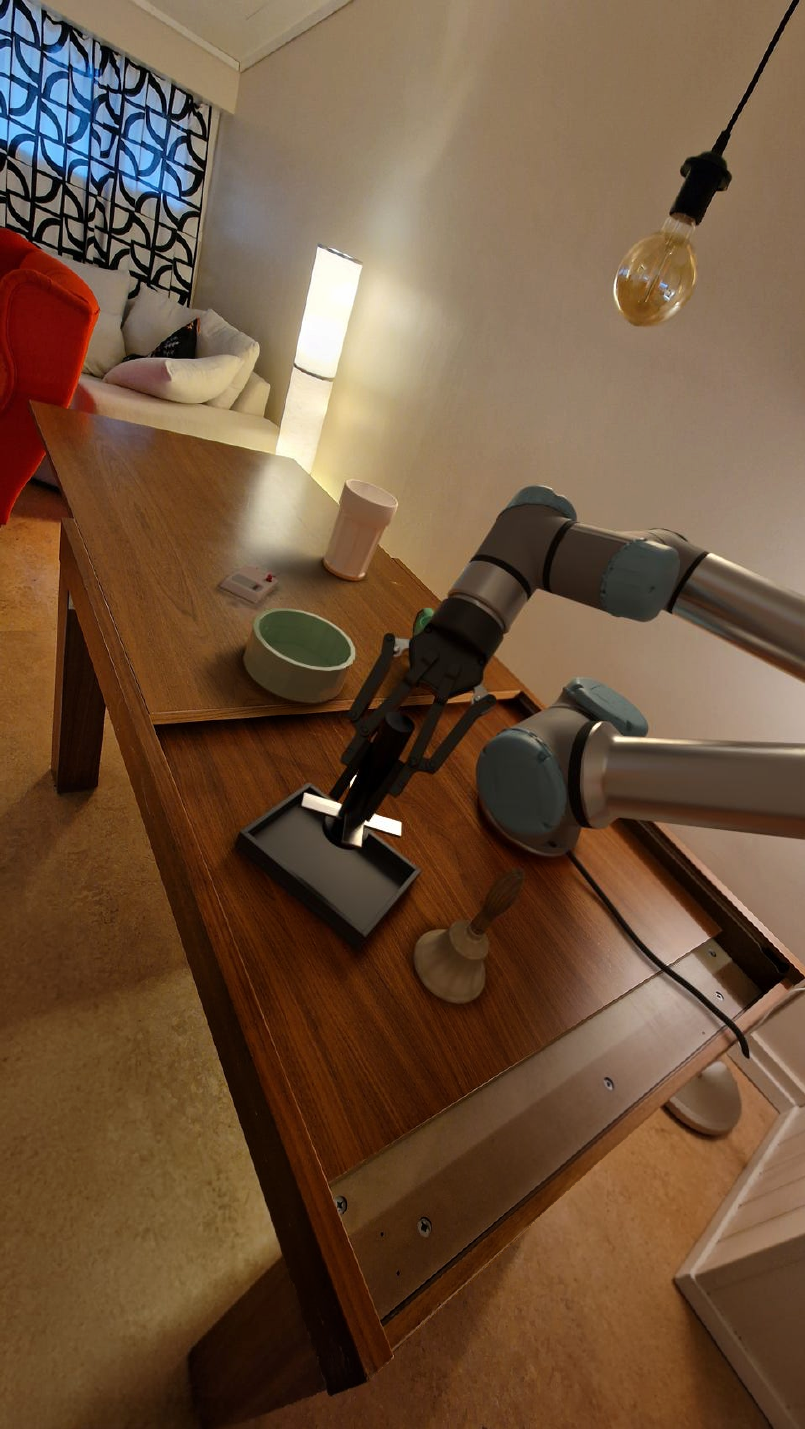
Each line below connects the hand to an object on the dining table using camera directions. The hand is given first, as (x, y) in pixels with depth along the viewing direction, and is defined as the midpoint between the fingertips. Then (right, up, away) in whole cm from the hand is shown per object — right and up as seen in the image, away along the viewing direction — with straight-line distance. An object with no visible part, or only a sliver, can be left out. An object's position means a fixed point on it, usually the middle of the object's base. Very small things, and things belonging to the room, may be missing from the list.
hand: (349, 808), depth 60 cm
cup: (-7, +40, +73) cm, 83 cm away
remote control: (-22, +32, +52) cm, 64 cm away
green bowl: (-12, +15, +36) cm, 41 cm away
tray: (-3, -8, +10) cm, 13 cm away
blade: (-1, -4, +7) cm, 8 cm away
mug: (+8, +17, +52) cm, 56 cm away
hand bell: (+10, -18, +6) cm, 21 cm away
